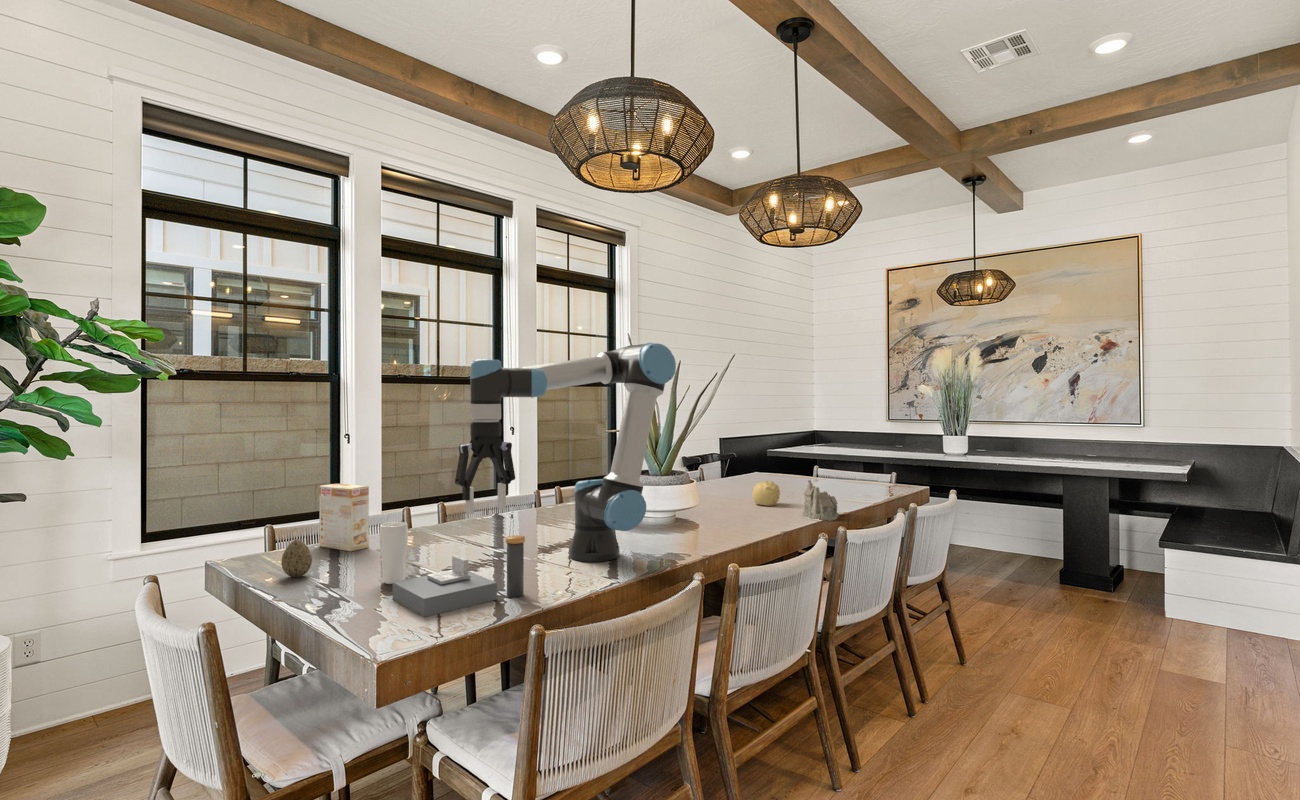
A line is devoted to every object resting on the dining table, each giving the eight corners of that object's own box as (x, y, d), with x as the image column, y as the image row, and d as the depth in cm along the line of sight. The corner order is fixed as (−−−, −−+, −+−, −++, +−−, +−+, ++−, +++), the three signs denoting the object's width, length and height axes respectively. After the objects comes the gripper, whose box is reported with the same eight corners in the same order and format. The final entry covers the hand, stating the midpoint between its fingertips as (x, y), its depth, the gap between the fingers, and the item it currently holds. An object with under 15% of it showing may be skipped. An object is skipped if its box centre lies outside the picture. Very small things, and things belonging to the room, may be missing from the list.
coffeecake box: (369, 547, 209) (369, 485, 209) (350, 552, 203) (350, 488, 202) (338, 542, 216) (338, 482, 216) (318, 546, 210) (318, 485, 209)
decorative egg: (317, 575, 176) (317, 538, 176) (291, 582, 170) (291, 543, 170) (301, 571, 180) (301, 535, 180) (275, 578, 174) (275, 540, 174)
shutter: (455, 572, 165) (455, 554, 165) (470, 578, 159) (470, 560, 159) (426, 578, 159) (427, 559, 159) (441, 584, 154) (441, 565, 154)
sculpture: (777, 508, 282) (777, 482, 282) (749, 506, 287) (749, 481, 286) (782, 503, 293) (782, 479, 293) (755, 502, 297) (755, 478, 297)
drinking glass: (386, 578, 174) (386, 521, 174) (411, 578, 174) (411, 521, 174) (375, 585, 168) (375, 526, 167) (401, 585, 167) (401, 526, 167)
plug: (518, 591, 163) (518, 534, 163) (528, 595, 160) (528, 537, 160) (501, 594, 160) (501, 537, 160) (511, 599, 157) (512, 540, 157)
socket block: (462, 584, 169) (462, 568, 169) (496, 599, 157) (496, 582, 156) (392, 599, 157) (392, 582, 157) (423, 616, 144) (423, 598, 144)
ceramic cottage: (814, 521, 253) (815, 481, 253) (796, 515, 269) (797, 478, 269) (851, 522, 256) (853, 483, 256) (831, 516, 272) (832, 479, 272)
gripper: (514, 419, 176) (514, 504, 176) (439, 421, 161) (439, 514, 161) (529, 420, 170) (529, 508, 171) (453, 422, 156) (453, 518, 156)
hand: (485, 510), depth 166 cm, fingers open, 8 cm apart
